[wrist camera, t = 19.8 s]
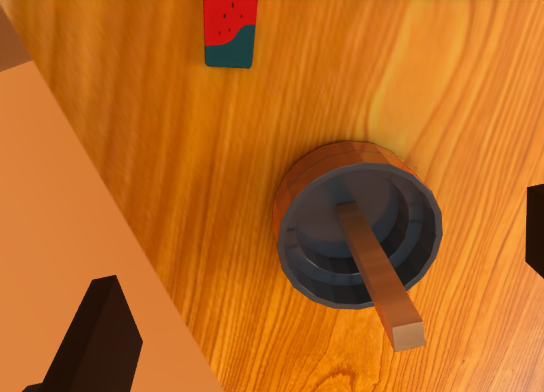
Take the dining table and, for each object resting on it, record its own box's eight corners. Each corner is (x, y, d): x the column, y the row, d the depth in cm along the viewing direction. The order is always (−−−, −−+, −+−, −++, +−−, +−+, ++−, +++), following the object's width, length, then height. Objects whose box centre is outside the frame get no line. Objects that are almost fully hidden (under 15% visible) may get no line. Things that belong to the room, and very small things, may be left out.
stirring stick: (335, 205, 46) (391, 328, 29) (355, 200, 46) (423, 321, 29) (338, 223, 46) (394, 352, 30) (358, 219, 46) (425, 346, 30)
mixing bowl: (258, 157, 44) (262, 183, 38) (410, 124, 44) (437, 146, 38) (287, 283, 50) (294, 323, 44) (420, 254, 49) (446, 291, 43)
